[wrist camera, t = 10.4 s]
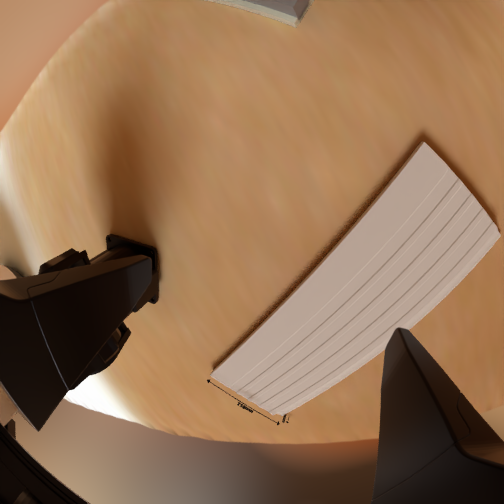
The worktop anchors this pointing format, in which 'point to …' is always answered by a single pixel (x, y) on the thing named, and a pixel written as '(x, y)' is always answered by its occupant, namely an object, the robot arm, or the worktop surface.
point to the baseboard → (365, 288)
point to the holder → (273, 8)
